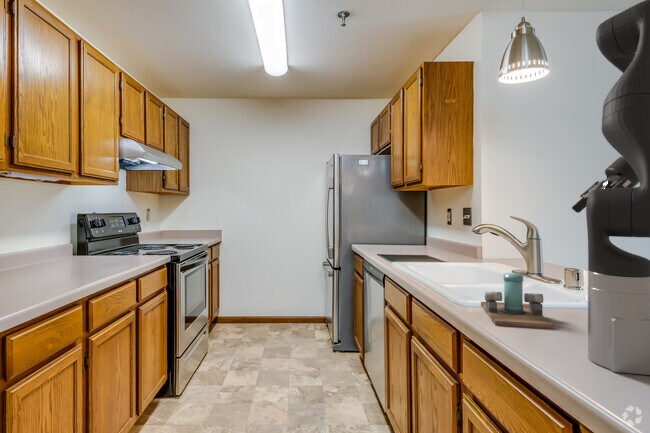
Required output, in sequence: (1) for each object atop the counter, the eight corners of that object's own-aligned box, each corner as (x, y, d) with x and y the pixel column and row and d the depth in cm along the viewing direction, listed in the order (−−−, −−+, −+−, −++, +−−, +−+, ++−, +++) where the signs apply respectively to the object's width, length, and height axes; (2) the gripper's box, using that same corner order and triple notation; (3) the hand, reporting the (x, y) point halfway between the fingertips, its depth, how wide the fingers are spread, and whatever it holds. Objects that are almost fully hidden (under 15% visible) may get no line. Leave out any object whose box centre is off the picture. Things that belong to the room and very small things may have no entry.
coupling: (525, 313, 91) (525, 276, 91) (506, 312, 92) (506, 275, 92) (520, 308, 95) (520, 273, 95) (501, 307, 96) (501, 272, 96)
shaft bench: (555, 329, 83) (555, 303, 83) (493, 325, 87) (492, 300, 86) (530, 308, 101) (530, 286, 100) (479, 305, 104) (479, 284, 104)
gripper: (605, 160, 96) (559, 201, 99) (638, 152, 82) (583, 200, 85) (628, 178, 95) (580, 219, 98) (665, 173, 81) (608, 221, 84)
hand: (582, 210), depth 92 cm, fingers open, 8 cm apart
